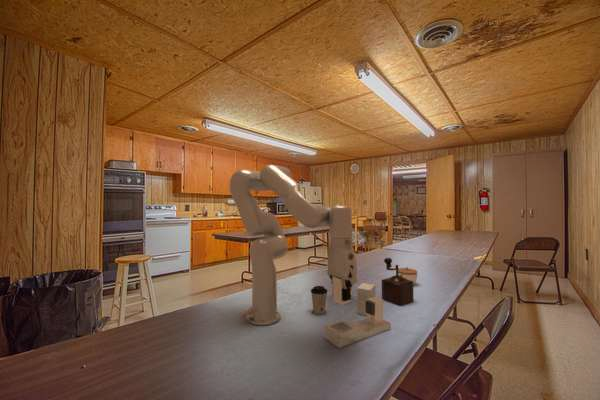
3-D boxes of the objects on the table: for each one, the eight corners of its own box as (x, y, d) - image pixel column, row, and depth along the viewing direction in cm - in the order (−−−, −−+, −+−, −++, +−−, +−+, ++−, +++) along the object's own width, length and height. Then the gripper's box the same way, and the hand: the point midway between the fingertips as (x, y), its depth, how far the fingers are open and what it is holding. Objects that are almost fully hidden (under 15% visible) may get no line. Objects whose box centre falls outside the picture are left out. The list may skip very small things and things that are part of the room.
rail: (338, 348, 82) (338, 315, 82) (324, 337, 88) (324, 307, 88) (390, 328, 94) (390, 300, 95) (374, 321, 101) (374, 294, 101)
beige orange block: (341, 304, 84) (340, 279, 85) (333, 300, 88) (332, 276, 88) (352, 301, 87) (352, 277, 87) (344, 298, 90) (344, 274, 91)
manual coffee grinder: (415, 301, 121) (415, 262, 122) (400, 306, 115) (399, 265, 116) (387, 292, 134) (387, 256, 135) (372, 296, 128) (372, 259, 129)
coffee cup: (326, 316, 105) (326, 290, 106) (309, 314, 107) (309, 289, 107) (328, 309, 112) (328, 285, 112) (312, 308, 114) (312, 284, 114)
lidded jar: (392, 282, 151) (392, 265, 151) (408, 280, 154) (408, 264, 154) (405, 288, 141) (405, 270, 141) (421, 286, 144) (421, 268, 144)
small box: (362, 307, 115) (362, 282, 115) (375, 309, 112) (375, 284, 112) (356, 313, 108) (356, 287, 108) (370, 316, 105) (370, 289, 105)
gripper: (367, 244, 82) (368, 303, 82) (333, 239, 97) (334, 289, 96) (349, 246, 79) (350, 308, 78) (316, 241, 93) (317, 293, 92)
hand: (341, 297), depth 87 cm, fingers closed on beige orange block, 4 cm apart
